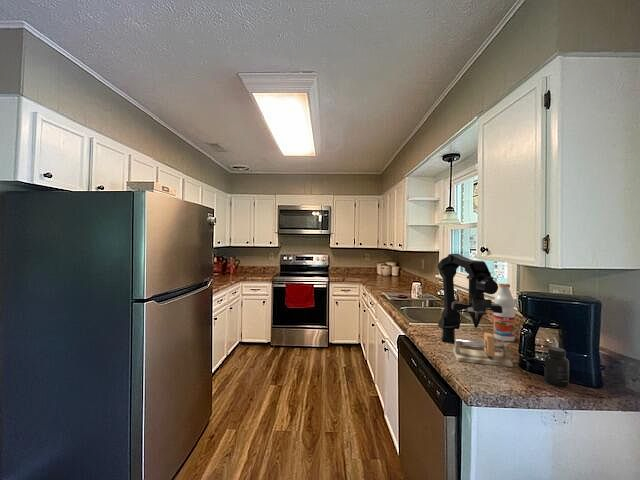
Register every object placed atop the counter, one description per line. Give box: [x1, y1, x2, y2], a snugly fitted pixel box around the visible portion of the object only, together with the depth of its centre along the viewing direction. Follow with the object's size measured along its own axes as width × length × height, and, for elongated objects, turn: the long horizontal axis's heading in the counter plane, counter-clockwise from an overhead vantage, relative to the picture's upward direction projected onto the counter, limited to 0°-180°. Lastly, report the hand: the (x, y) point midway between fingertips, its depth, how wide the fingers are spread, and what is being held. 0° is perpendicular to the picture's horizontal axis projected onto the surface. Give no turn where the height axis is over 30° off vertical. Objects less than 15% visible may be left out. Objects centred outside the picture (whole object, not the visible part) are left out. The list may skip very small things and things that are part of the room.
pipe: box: [454, 338, 509, 350], centre depth 131 cm, size 20×3×3 cm, turn 75°
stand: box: [452, 337, 513, 368], centre depth 131 cm, size 20×12×7 cm, turn 75°
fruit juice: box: [493, 283, 516, 342], centre depth 159 cm, size 9×9×28 cm
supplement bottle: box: [543, 346, 570, 388], centre depth 108 cm, size 7×7×12 cm
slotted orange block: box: [483, 332, 496, 357], centre depth 130 cm, size 2×7×8 cm, turn 165°
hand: (475, 327), depth 131 cm, fingers closed
